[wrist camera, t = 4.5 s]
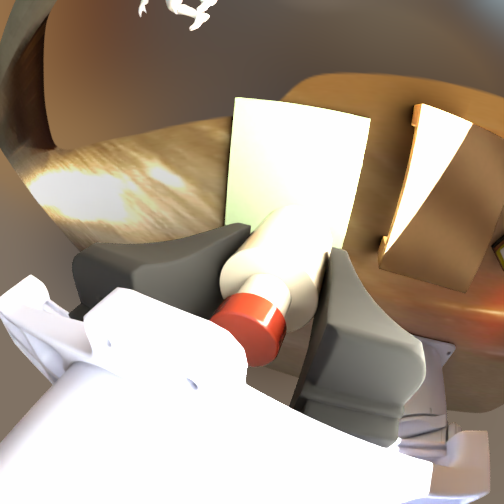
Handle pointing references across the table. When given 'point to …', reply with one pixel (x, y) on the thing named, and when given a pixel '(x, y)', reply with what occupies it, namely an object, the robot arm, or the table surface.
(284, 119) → the mat
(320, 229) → the spice bottle
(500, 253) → the harmonica
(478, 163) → the small bench
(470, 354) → the table surface
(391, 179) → the table surface
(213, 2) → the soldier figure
